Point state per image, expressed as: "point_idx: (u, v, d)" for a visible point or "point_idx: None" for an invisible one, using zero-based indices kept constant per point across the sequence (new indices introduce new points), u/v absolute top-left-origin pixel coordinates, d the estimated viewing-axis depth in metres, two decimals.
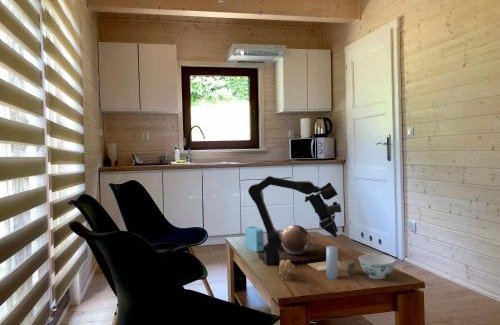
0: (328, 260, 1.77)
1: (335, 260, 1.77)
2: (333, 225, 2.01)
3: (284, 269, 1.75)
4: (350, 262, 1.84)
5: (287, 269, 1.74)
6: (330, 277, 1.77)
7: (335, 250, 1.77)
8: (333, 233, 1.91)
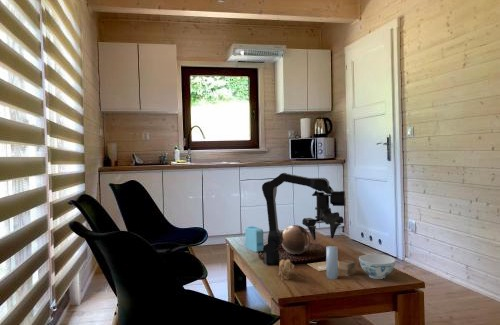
0: (328, 260, 1.77)
1: (335, 260, 1.77)
2: (332, 231, 1.95)
3: (284, 269, 1.75)
4: (350, 262, 1.84)
5: (287, 269, 1.74)
6: (330, 277, 1.77)
7: (335, 250, 1.77)
8: (312, 235, 1.92)
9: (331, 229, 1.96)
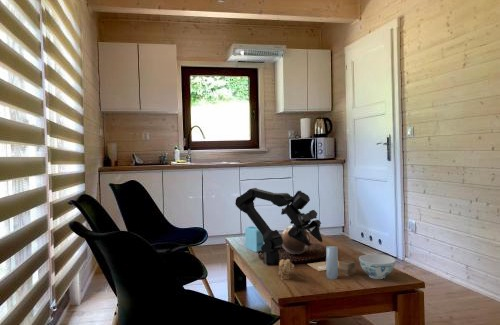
0: (328, 260, 1.77)
1: (335, 260, 1.77)
2: (317, 235, 1.89)
3: (284, 269, 1.75)
4: (350, 262, 1.84)
5: (287, 268, 1.75)
6: (330, 277, 1.77)
7: (335, 250, 1.77)
8: (305, 242, 1.81)
9: (315, 235, 1.90)
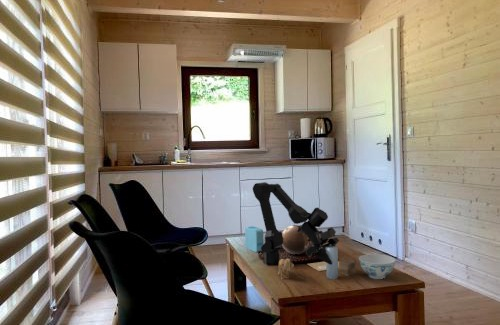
0: None
1: (335, 260, 1.77)
2: None
3: (284, 268, 1.76)
4: (350, 262, 1.84)
5: (287, 268, 1.76)
6: (330, 277, 1.77)
7: (335, 250, 1.77)
8: (327, 260, 1.77)
9: None
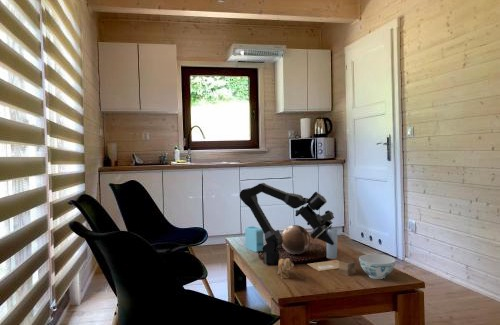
0: None
1: (336, 240, 1.87)
2: None
3: (284, 268, 1.77)
4: (350, 262, 1.84)
5: (287, 268, 1.76)
6: (331, 257, 1.87)
7: (336, 231, 1.87)
8: (329, 241, 1.86)
9: None
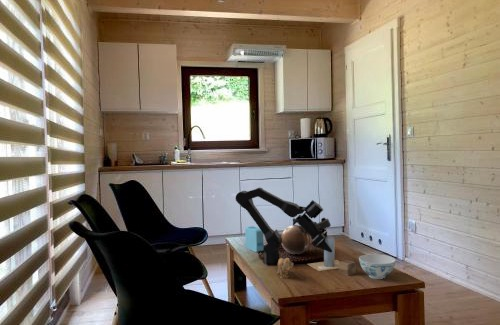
0: None
1: (333, 249, 1.94)
2: None
3: (283, 267, 1.78)
4: (350, 262, 1.84)
5: (286, 267, 1.77)
6: (330, 265, 1.93)
7: (334, 240, 1.94)
8: (327, 249, 1.90)
9: None
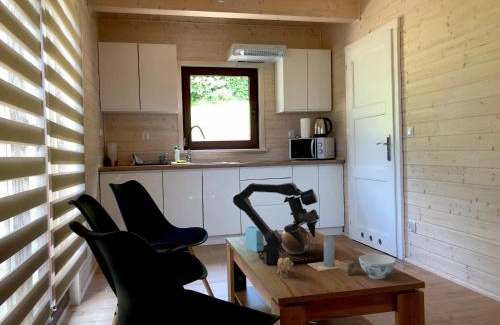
0: (328, 250, 1.93)
1: (333, 249, 1.94)
2: (312, 230, 2.00)
3: (283, 267, 1.78)
4: (350, 262, 1.84)
5: (286, 267, 1.78)
6: (330, 265, 1.93)
7: (333, 240, 1.94)
8: (298, 240, 1.94)
9: (310, 229, 2.00)
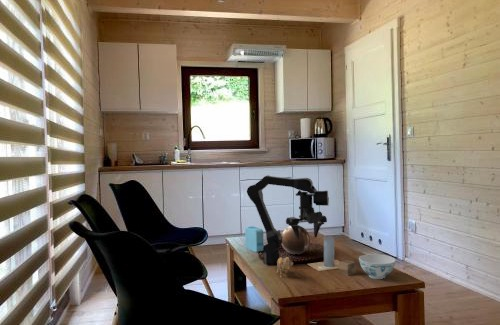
0: (328, 250, 1.93)
1: (333, 249, 1.94)
2: (315, 230, 1.98)
3: (283, 266, 1.79)
4: (350, 262, 1.84)
5: (286, 266, 1.78)
6: (330, 265, 1.93)
7: (333, 240, 1.94)
8: (296, 234, 1.95)
9: (314, 228, 1.99)
